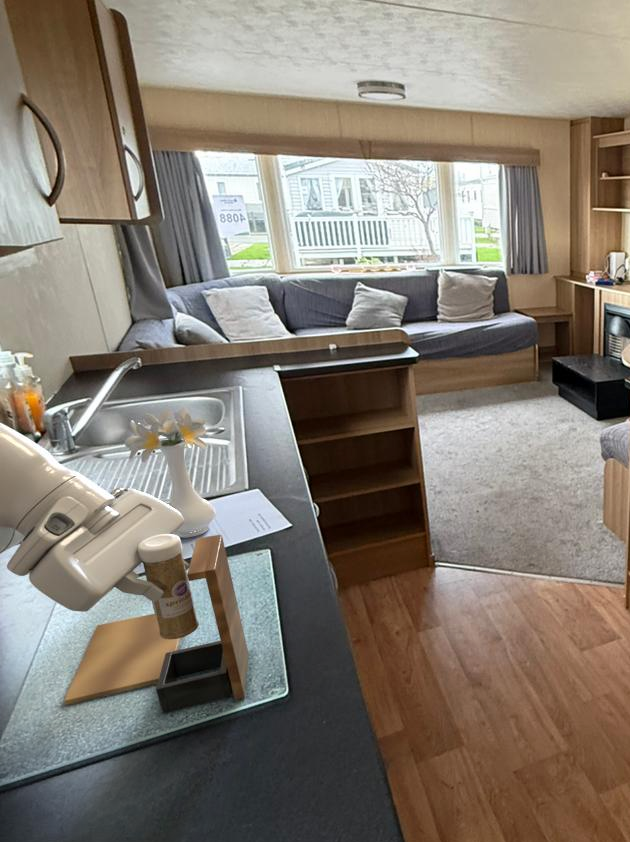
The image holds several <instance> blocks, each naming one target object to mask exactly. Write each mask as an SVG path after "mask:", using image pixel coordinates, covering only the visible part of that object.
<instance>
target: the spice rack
mask: <svg viewBox="0 0 630 842" xmlns="http://www.w3.org/2000/svg"><path fill="white" fill-rule="evenodd" d="M189 564H190V566H189V568H188V569H187V577H188V581H189V582H192V581H197V580H203V579H205V582H206V585H207V591H208V594H209V598H210V601H211V606H212V610H213V614H214V618H215V623H216V627H217V631H218V635H219V639H220V640H216V641H212V642H207V643H204V644H200V645H195V646H191V647H186V648H180V649H178V650H177V651H172V652H168V653H166V654H165V657H164V661H163V665H162V669H161V672H160V676H159V680H158V684H156V688H155V692H156V695H157V699H158V702H159V705H160V709H161V713H162V714H163V715H165V714H168V713H173V712H177V711H180V710H181V711H182V710H184V709H188V708H192V707H196V706H200V705H204V704H208V703H212V702H217V701H220V700H224V699H228V698H231V697H233V698H234V701H238V700H241V699H245V698H246V690H247V689H246V687H247V679H248V678H247V677H248V664H249V649H248V646H247V641H246V636H245V632H244V628H243V623H242V618H241V615H240V609H239V605H238V601H237V597H236V592H235V587H234V583H233V578H232V574H231V569H230V565H229V561H228V556H227V552H226V546H225V542H224V538H223V535H222V534H221V533H220V534H215V535H210V536H203V537H198V538H196V541H195V544H194V548H193V552H192V555H191V559H190V563H189ZM217 669H219V670H217ZM212 670H217V671H214V672H210V673H205V674H200V673H204V672H208V671H212ZM195 674H200V675H197V676H192V677H188V678H184V679H179V678H183V677H187V676H191V675H195ZM178 679H179V680H178Z"/></svg>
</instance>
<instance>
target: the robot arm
mask: <svg viewBox="0 0 630 842" xmlns="http://www.w3.org/2000/svg"><path fill="white" fill-rule="evenodd" d="M183 523H184V518H183V516H182V515H181V513H179V512H178V511H177V510H175V509H173V508H172V507H170V506H169V504H167V503H165V502H163V501H162V500H160V499H158V498H156V497H155V496H152V495H151V494H149V493H146V492H144V491H140V490H139V491H138V490H136V489H135V488H128V487H126V488H125V487H117V488H115V489H113V490H112V491H111V492H108V491H106V489H103V488H102V487H101V486H99V485H97V484H96V483H94V482H93V481H92V480H90V479H89V478H87V477H85V475H83V474H81V473H80V472H78V471H75V470H73V469H71V468H67V467H66V466H63V465H62V464H61V463H59V462H58V461H57V460H56V459H55V458H54V457H53V455H52V454H51V453H50V452H49V451H48V450H46V449H45V448H44V447H42V446H40V445H39V444H38V443H37V442H35V441H33V440H32V439H30V438H28V437H26V436H25V435H24V434H22V433H20V432H19V431H17V430H15V429H13V428H11V427H9V426H8V425H6V424H4V423H2V422H0V554H3V553H4V552H6V551H8V550H9V549H11V548H14V547H15V546H18V545H19V546H18V547H17V549H16V550H15V552H14V554H13V555H12V556H11V558H10V559H9V561H8V562H7V564H6V569H7V570H9V572H11V573H13V574H15V576H19V577H25V576H27V575H28V579H29V582H30V584H31V585H32V586H33V587H34V588H35V589H36V590H38V591H39V592H40V593H42V594H43V595H45V596H46V597H48V598H49V599H51V600H52V601H54V602H55V603H57V604H59V605H61V606H62V607H64V608H66V609H68V610H70V611H72V612H81V613H85V612H89V611H90V610H91V609H92V608H93V607H94V606H95V605H96V604H98V603H99V602H100V601H101V600H102V599H103V598H104V597H106V596H107V595H108V594H109V593H110V592H111V591H112V590H113V589H114V588H116V589H117V590H118V591H119V592H122V593H123V594H129V595H136V596H143V597H144V598H146V599H148V600H149V601H151V603H152V602H156V601H157V600H158V599H159V598H160V597H161V596H162V595H163V594H164V593H165V592H166V591H167V590H168V588H167V586H165V585H162V583H161V582H159V581H158V580H156V581H155V582H154V583H152V582H148V581H147V580H144V579H140V578H139V577H140V575H139V574H138V573H136V572H135V569H136V568H137V567H139V566H140V565H141V564H143V563H142V562H141V559H140V556H139V553H138V545H139V544H140V543H141V542H142V541H143V540H145V539H147V538H150V537H153V536H156V535H161V534H174V535H175V532H176V531H177V530H178V529H179V528H180V527H181V525H182V524H183ZM183 561H184V565H185V568H186V571H188V570H189V566H190V563H189V562H187V561H186V560H184V559H183Z"/></svg>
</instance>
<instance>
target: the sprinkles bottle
mask: <svg viewBox="0 0 630 842" xmlns="http://www.w3.org/2000/svg"><path fill="white" fill-rule="evenodd" d="M181 540H182V539H181V537H179V536H177V535H175V533H174V534H161V535H156V536H153V537H150V538H147V539H145V540H143V541H142V542H141V543H140V544H139V545H138V553H139V556H140V559H141V562H142V563H141V564H143V565H142V566H143V570H144V574H145V578H146V581H148V582H152V583H154V582H155V581H156V580H158V581H159V582H161V583H162V585H165V586H167V588H168V590H167V591H166V592H165V593H164V594H163V595H162V596H161V597H160V598H159V599H158V600H157V601H156V602H152V601H151V605H152V608H153V612H154V613H153V614H155V616H156V618H157V621H158V626H159V629H160V631H159V634H160V636H161V637H162V638H164V639H169V640H170V639H178V638H181V639H183V638H185V637H186V636H189V635H191V634H192V633H194V632H196V630H197V629H198V627H199V626H200V622H199V620H198V618H197V612H196V608H195V601H194V598H193V593H192V587H191V583H190V581H189V580H188V576H187V574H188V571H187V570H186V568H185V565H184V561H183V560H184V555H183V549H184V547H183V544H182V541H181Z"/></svg>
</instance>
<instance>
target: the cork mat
mask: <svg viewBox="0 0 630 842" xmlns="http://www.w3.org/2000/svg"><path fill="white" fill-rule="evenodd" d="M159 631H160V629H159V626H158V621H157V618H156V616H155V613H151V614H146V615H141V616H136V617H131V618H125V619H121V620H116V621H112V622H106V623H102V624H97V626H96V628H95V630H94V631H93V634H92V637H91V639H90V641H89V643H88V646H87V648H86V649H85V652H84V654H83V657H82V659H81V661H80V663H79V666H78V668H77V669H76V670H77V671H76V673H75V674H74V677H73V679H72V681H71V684H70V686H69V689H68V690H67V692H66V695H65V697H64V700H63V703H64V706H69V705H75V704H77V703H81V702H86V701H91V700H95V699H99V698H103V697H107V696H111V695H115V694H120V693H123V692H127V691H132V690H136V689H141V688H145V687H149V686H153V685H157V684H158V680H159V676H160V672H161V669H162V665H163V661H164V657H165V654H166V653H168V652H172V651H177V650H179V648H180V643H181V639H182V638H178V639H170V640H169V639H164V638H162V637H161V636H160V634H159Z"/></svg>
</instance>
